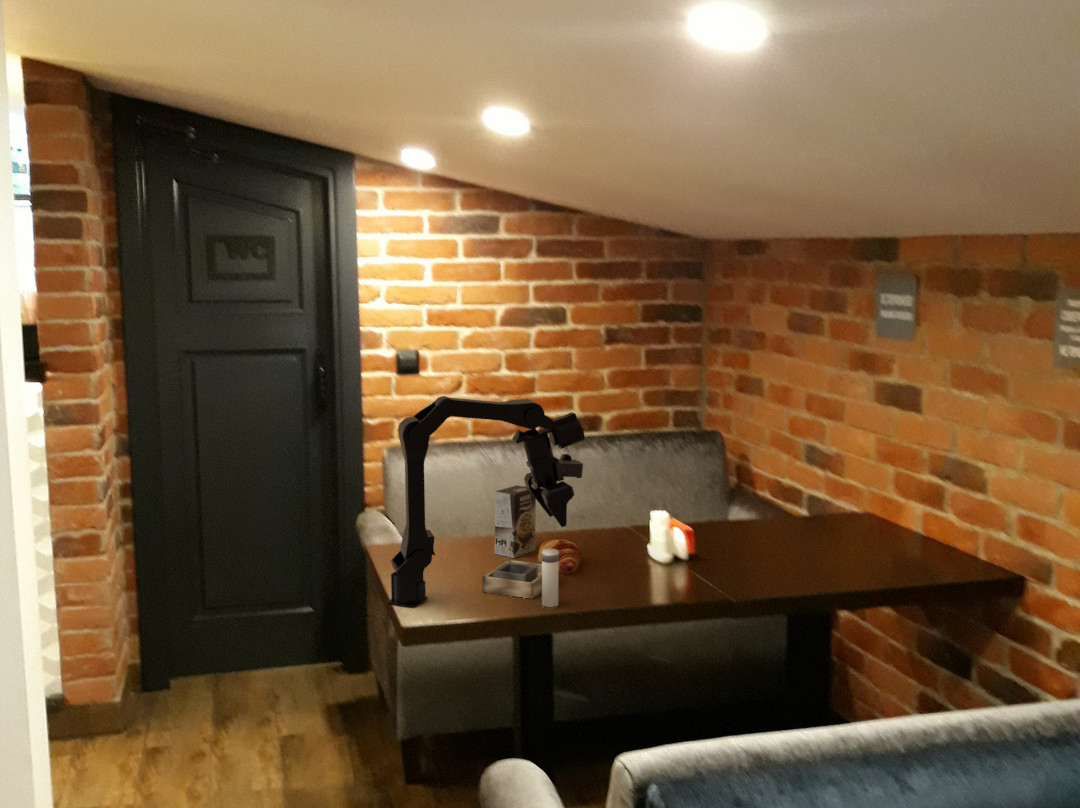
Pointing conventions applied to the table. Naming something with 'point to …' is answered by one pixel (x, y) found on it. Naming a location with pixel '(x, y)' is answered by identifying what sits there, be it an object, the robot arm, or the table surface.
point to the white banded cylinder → (550, 577)
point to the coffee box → (515, 521)
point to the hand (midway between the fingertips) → (557, 521)
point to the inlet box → (514, 579)
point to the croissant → (563, 554)
